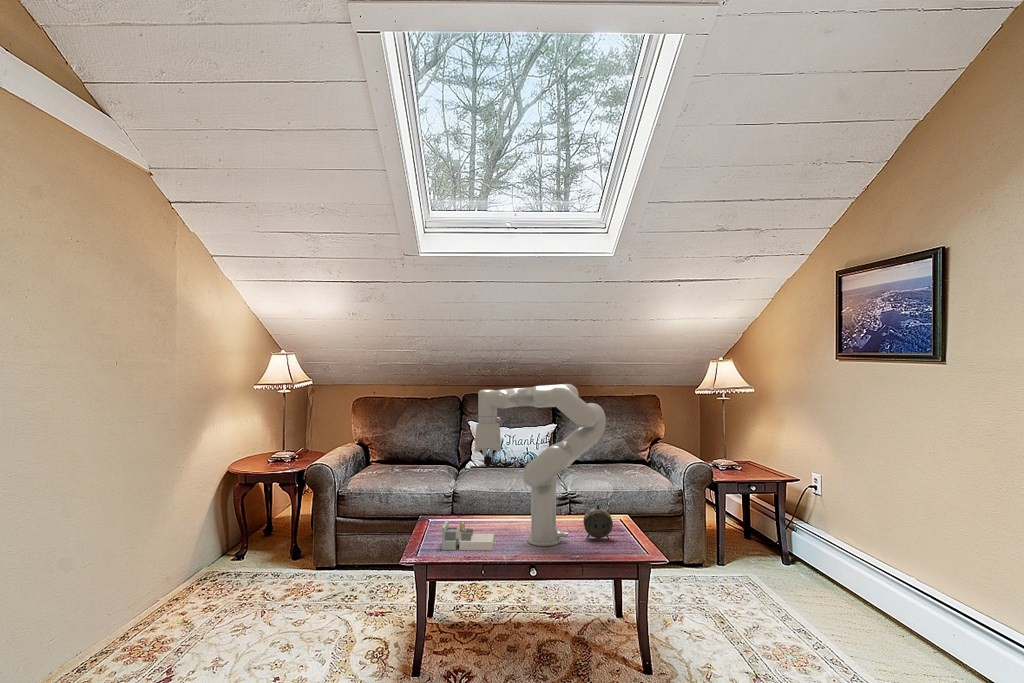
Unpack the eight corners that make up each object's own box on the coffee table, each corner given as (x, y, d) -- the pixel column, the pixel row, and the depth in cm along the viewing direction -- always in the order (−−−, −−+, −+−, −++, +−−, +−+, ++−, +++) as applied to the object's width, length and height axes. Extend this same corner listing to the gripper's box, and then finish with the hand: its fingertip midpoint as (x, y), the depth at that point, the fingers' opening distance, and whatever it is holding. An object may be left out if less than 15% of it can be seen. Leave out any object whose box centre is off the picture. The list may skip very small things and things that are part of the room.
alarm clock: (611, 538, 218) (611, 496, 218) (613, 542, 212) (612, 499, 213) (583, 537, 218) (583, 495, 219) (584, 542, 213) (584, 499, 214)
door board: (494, 541, 214) (494, 527, 214) (492, 550, 204) (492, 535, 204) (462, 541, 214) (462, 527, 215) (459, 550, 204) (459, 534, 205)
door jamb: (459, 541, 214) (458, 520, 215) (455, 550, 204) (455, 528, 205) (446, 541, 215) (446, 520, 215) (441, 550, 205) (441, 527, 205)
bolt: (466, 535, 211) (466, 520, 212) (465, 538, 207) (465, 523, 208) (448, 535, 212) (448, 520, 212) (446, 538, 208) (446, 523, 208)
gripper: (506, 419, 229) (506, 464, 228) (470, 419, 229) (470, 464, 228) (505, 421, 221) (506, 468, 220) (468, 421, 222) (468, 468, 221)
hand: (487, 466), depth 224 cm, fingers closed
